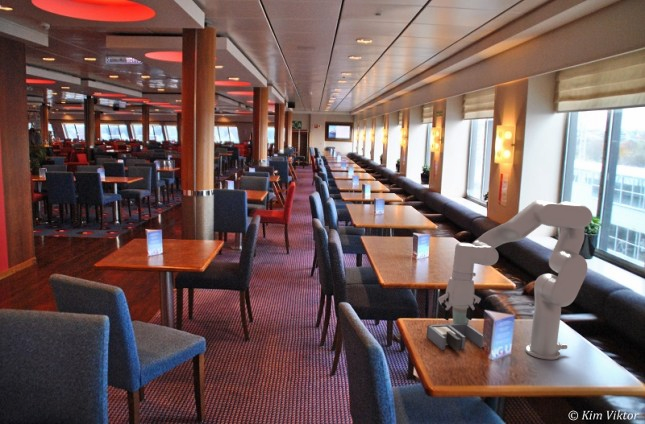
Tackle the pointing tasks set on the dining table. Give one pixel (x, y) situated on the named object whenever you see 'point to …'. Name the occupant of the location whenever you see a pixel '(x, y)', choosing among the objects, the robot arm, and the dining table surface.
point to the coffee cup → (460, 315)
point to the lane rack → (460, 332)
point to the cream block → (449, 337)
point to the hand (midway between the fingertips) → (457, 319)
